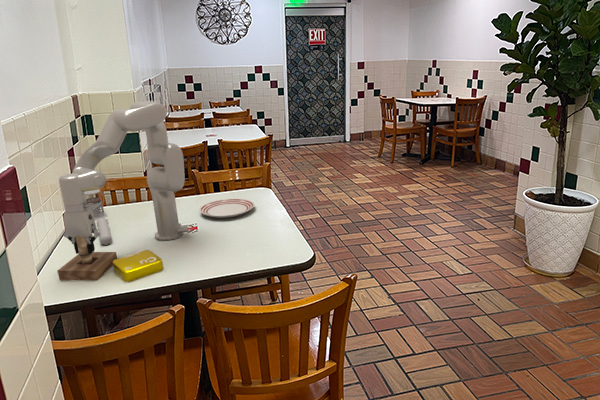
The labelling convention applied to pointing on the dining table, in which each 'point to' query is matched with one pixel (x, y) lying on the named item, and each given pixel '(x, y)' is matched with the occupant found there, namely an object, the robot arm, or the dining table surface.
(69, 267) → the board
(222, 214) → the dinner plate
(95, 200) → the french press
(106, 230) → the tube
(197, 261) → the dining table surface
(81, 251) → the peg
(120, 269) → the element tile
